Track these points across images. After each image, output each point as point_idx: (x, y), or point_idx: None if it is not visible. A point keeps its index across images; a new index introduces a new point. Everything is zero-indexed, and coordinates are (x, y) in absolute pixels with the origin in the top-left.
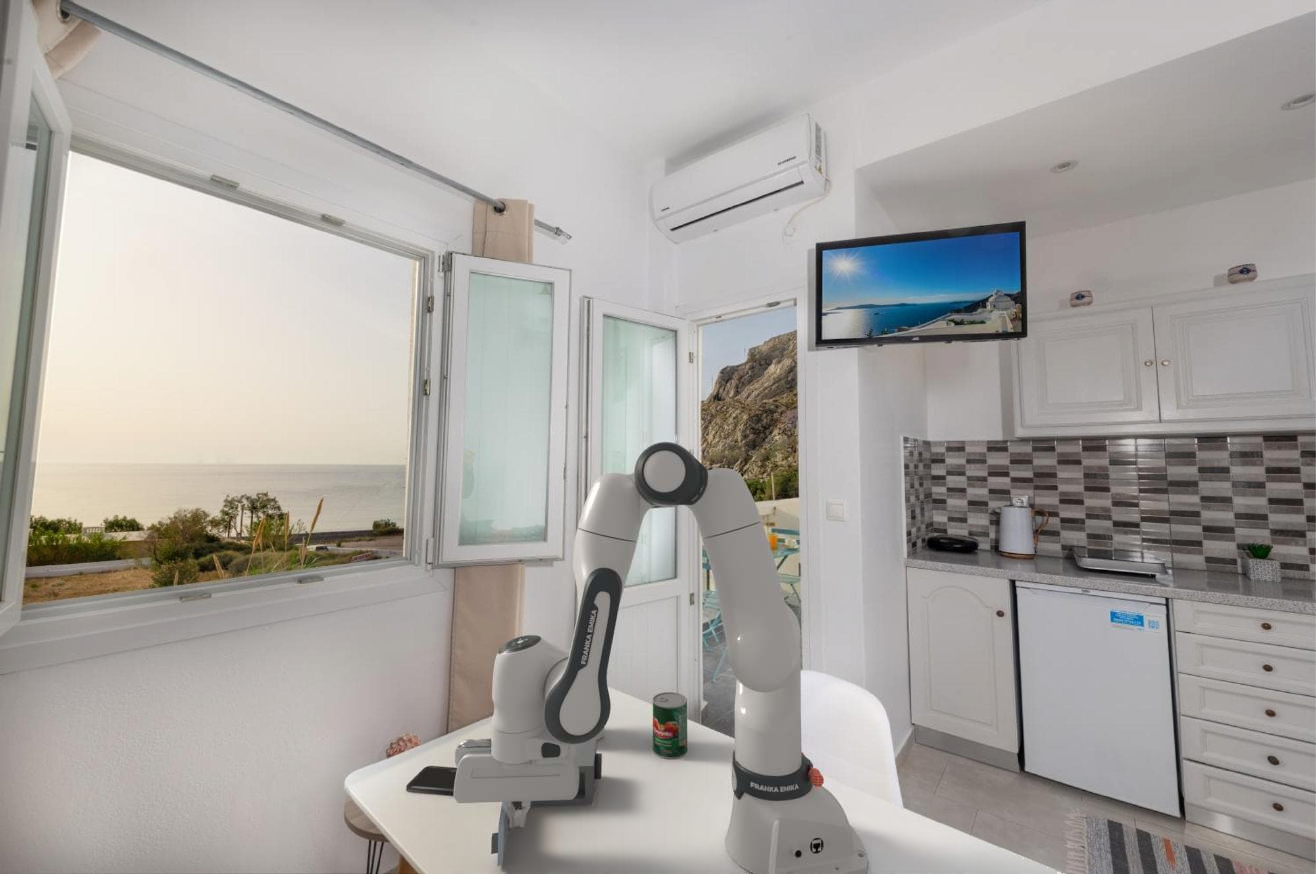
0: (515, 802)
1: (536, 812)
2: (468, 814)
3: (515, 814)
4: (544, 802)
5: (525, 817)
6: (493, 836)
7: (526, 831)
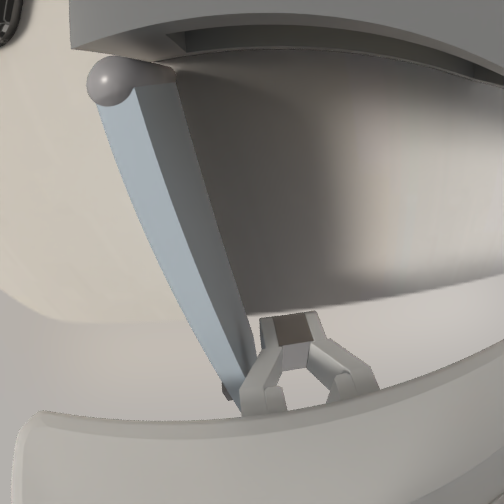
0: (192, 52)
1: (302, 83)
2: (27, 132)
3: (287, 359)
4: (336, 49)
5: (318, 318)
6: (231, 397)
7: (285, 195)
